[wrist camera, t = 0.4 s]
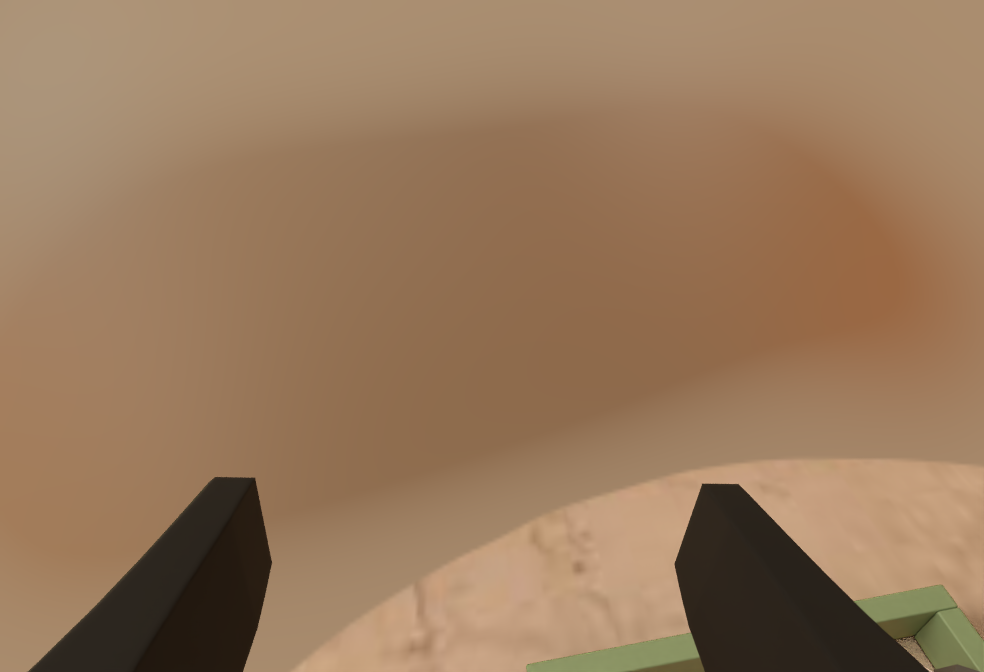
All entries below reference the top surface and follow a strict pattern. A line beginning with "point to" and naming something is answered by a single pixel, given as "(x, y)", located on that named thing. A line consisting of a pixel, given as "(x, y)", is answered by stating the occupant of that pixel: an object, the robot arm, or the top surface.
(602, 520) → the top surface
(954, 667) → the giant panda
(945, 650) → the rim
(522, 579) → the top surface
